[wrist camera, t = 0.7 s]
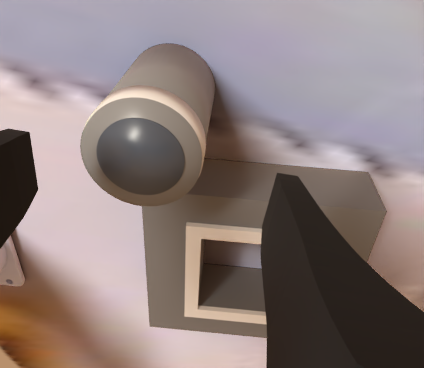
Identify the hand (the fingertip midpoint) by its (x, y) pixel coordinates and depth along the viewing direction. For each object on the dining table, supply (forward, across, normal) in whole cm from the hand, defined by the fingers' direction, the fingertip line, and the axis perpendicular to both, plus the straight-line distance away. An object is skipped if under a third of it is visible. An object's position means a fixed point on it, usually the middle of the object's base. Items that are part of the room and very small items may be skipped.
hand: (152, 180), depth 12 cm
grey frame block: (+10, -5, +10) cm, 15 cm away
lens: (+10, +1, +1) cm, 10 cm away
